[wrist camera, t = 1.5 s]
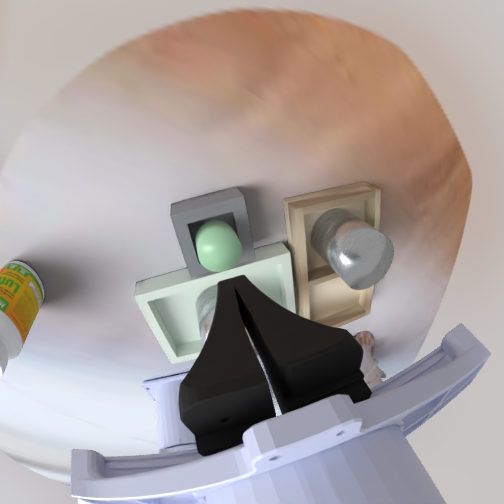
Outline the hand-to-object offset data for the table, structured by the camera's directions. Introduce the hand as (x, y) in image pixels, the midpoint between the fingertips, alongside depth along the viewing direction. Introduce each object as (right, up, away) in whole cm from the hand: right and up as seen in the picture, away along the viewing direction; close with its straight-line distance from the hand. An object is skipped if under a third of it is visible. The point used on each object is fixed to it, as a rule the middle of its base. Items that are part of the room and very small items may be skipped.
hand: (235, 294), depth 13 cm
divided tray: (+8, +1, +12) cm, 15 cm away
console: (-2, +4, +8) cm, 9 cm away
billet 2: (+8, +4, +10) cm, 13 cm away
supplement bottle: (-20, -1, +5) cm, 21 cm away
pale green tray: (-2, -3, +11) cm, 12 cm away
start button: (-2, +3, +5) cm, 6 cm away
